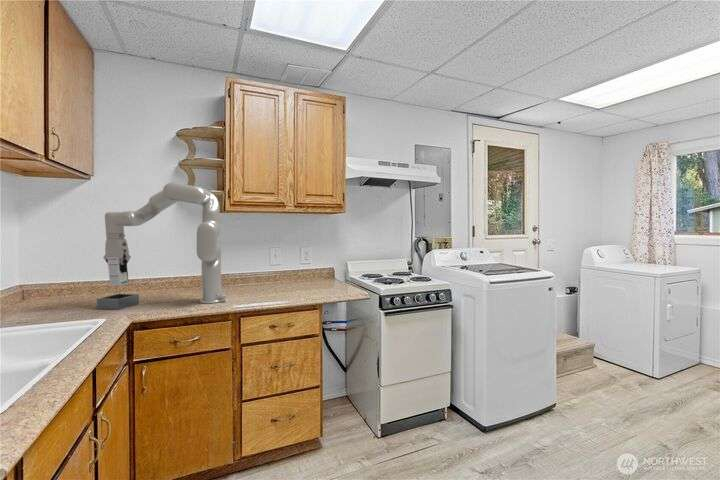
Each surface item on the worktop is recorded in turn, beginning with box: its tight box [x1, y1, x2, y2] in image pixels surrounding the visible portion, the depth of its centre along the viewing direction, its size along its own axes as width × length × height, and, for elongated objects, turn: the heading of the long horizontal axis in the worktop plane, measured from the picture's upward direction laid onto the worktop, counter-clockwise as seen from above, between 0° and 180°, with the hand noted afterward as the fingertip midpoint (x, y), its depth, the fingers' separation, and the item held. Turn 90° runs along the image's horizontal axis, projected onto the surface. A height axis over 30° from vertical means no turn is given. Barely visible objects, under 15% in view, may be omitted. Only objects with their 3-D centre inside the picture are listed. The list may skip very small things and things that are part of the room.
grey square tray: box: [96, 293, 140, 311], centre depth 179 cm, size 12×12×5 cm
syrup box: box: [107, 257, 129, 287], centre depth 178 cm, size 6×6×14 cm
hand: (118, 271), depth 178 cm, fingers closed on syrup box, 6 cm apart
